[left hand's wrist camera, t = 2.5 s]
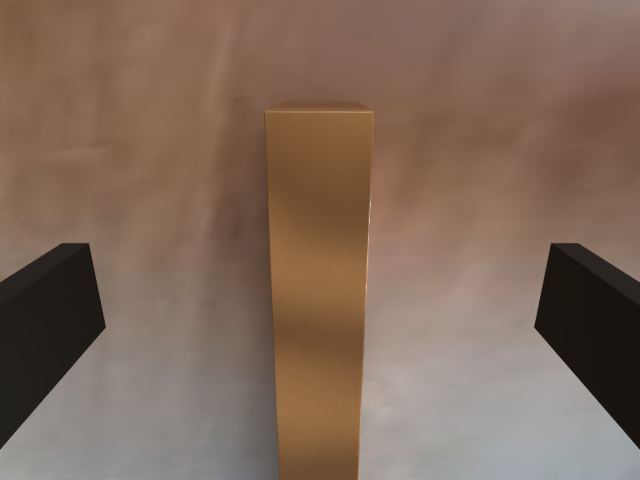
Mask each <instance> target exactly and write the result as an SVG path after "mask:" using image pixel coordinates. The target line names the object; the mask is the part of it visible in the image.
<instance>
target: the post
mask: <svg viewBox="0 0 640 480" xmlns="http://www.w3.org/2000/svg"><path fill="white" fill-rule="evenodd" d="M374 117H375V112H374V111H372V110H371V109H369V108H367V107H365V106H364V105H362V104H360V103H359V102H280V103H278V104H277V105H275V106H273V107H271V108H270V109H268V110H266V111H265V112H264V120H265V145H266V169H267V193H268V218H269V242H270V266H271V290H272V315H273V339H274V363H275V388H276V412H277V436H278V461H279V480H358V469H359V447H360V425H361V403H362V381H363V359H364V337H365V315H366V293H367V271H368V249H369V227H370V205H371V183H372V161H373V139H374Z"/></svg>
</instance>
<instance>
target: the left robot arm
mask: <svg viewBox="0 0 640 480" xmlns="http://www.w3.org/2000/svg"><path fill="white" fill-rule="evenodd" d="M105 328H106V326H105V321H104V316H103V311H102V306H101V301H100V296H99V291H98V286H97V281H96V276H95V271H94V266H93V261H92V256H91V251H90V247H89V243H62V244H60V245H58V246H57V247H55V248H54V249H52V250H51V251H49V252H47V253H46V254H44V255H43V256H41V257H39V258H38V259H36V260H35V261H33V262H32V263H30V264H28V265H27V266H25V267H24V268H22V269H21V270H19V271H17V272H16V273H14V274H13V275H11V276H9V277H8V278H6V279H5V280H3V281H2V282H0V449H1V448H2V447H3V446H4V444H5V443H6V442H7V441H8V440H9V439H10V438H11V436H12V435H13V434H14V433H15V432H16V431H17V429H18V428H19V427H20V426H21V425H22V424H23V423H24V421H25V420H26V419H27V418H28V417H29V416H30V414H31V413H32V412H33V411H34V410H35V409H36V407H37V406H38V405H39V404H40V403H41V402H42V401H43V399H44V398H45V397H46V396H47V395H48V394H49V392H50V391H51V390H52V389H53V388H54V387H55V386H56V384H57V383H58V382H59V381H60V380H61V379H62V377H63V376H64V375H65V374H66V373H67V372H68V370H69V369H70V368H71V367H72V366H73V365H74V364H75V362H76V361H77V360H78V359H79V358H80V357H81V355H82V354H83V353H84V352H85V351H86V350H87V349H88V347H89V346H90V345H91V344H92V343H93V342H94V340H95V339H96V338H97V337H98V336H99V335H100V333H101V332H102V331H103V330H104V329H105ZM534 328H535V329H536V330H537V331H538V332H539V333H540V335H541V336H542V337H543V338H544V339H545V340H546V342H547V343H548V344H549V345H550V346H551V347H552V349H553V350H554V351H555V352H556V353H557V354H558V355H559V357H560V358H561V359H562V360H563V361H564V362H565V364H566V365H567V366H568V367H569V368H570V369H571V370H572V372H573V373H574V374H575V375H576V376H577V377H578V379H579V380H580V381H581V382H582V383H583V384H584V386H585V387H586V388H587V389H588V390H589V391H590V392H591V394H592V395H593V396H594V397H595V398H596V399H597V401H598V402H599V403H600V404H601V405H602V406H603V407H604V409H605V410H606V411H607V412H608V413H609V414H610V416H611V417H612V418H613V419H614V420H615V421H616V423H617V424H618V425H619V426H620V427H621V428H622V429H623V431H624V432H625V433H626V434H627V435H628V436H629V438H630V439H631V440H632V441H633V442H634V443H635V444H636V446H637V447H638V448H639V449H640V282H638V281H637V280H635V279H634V278H632V277H631V276H629V275H627V274H626V273H624V272H623V271H621V270H619V269H618V268H616V267H615V266H613V265H612V264H610V263H608V262H607V261H605V260H604V259H602V258H601V257H599V256H597V255H596V254H594V253H593V252H591V251H589V250H588V249H586V248H585V247H583V246H582V245H580V244H578V243H551V247H550V251H549V256H548V261H547V266H546V271H545V276H544V281H543V286H542V291H541V296H540V301H539V306H538V311H537V316H536V321H535V326H534Z"/></svg>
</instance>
